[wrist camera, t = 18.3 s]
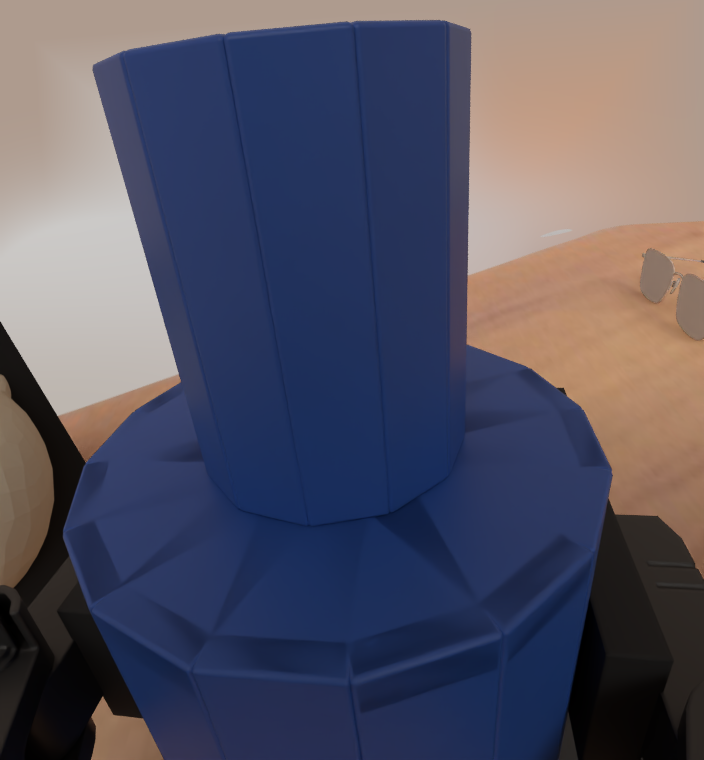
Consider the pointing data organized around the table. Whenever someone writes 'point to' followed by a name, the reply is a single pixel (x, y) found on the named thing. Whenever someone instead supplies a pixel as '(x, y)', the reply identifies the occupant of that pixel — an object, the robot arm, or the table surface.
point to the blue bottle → (329, 421)
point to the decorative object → (32, 478)
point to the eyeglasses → (695, 299)
